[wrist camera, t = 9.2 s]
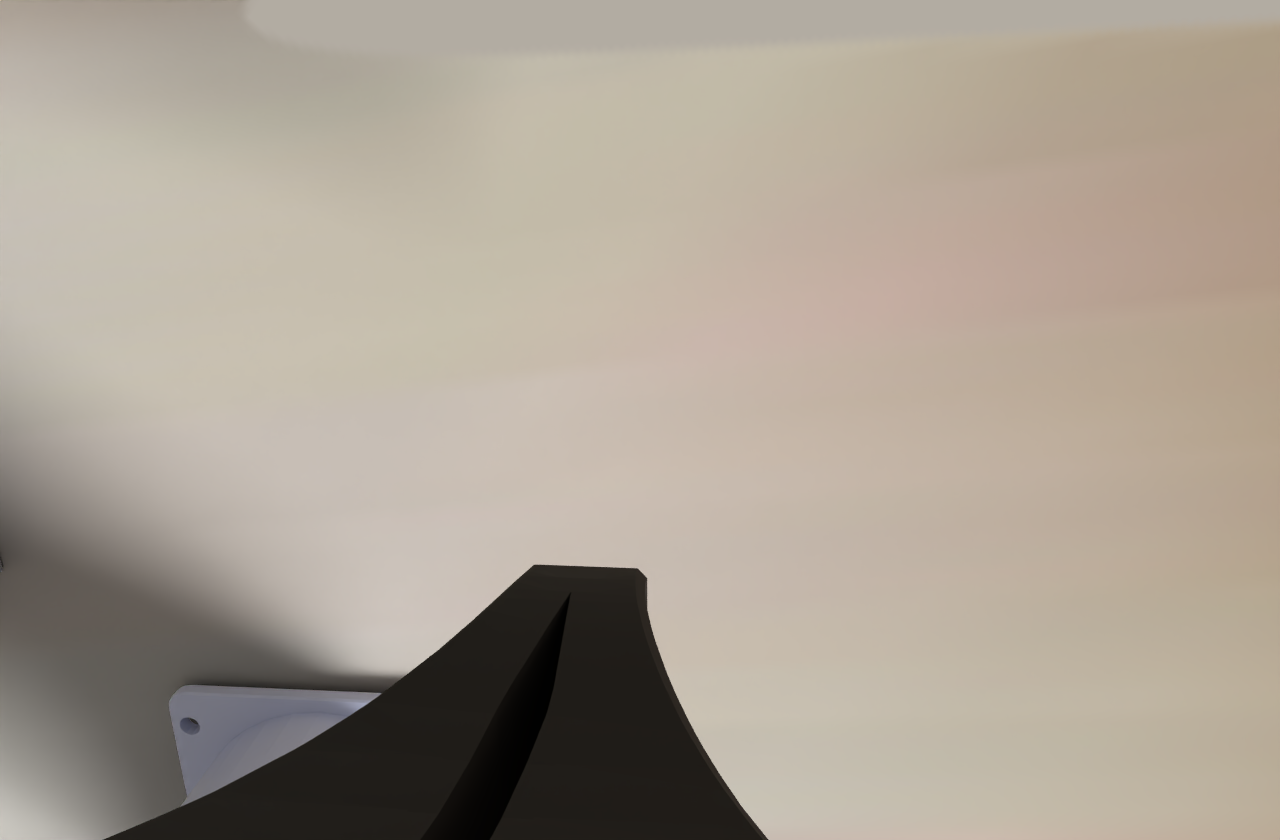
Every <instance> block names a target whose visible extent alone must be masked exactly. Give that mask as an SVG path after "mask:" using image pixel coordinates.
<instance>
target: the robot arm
mask: <svg viewBox="0 0 1280 840" xmlns="http://www.w3.org/2000/svg"><path fill="white" fill-rule="evenodd" d="M169 711H170V716H171V721H172V726H173V731H174V736H175V741H176V746H177V750H178V755H179V760H180V765H181V770H182V775H183V780H184V784H185V789H186V794H187V798H186V799H185V801H184V802H183V803H182V805H181V806H180V807H179V808H177V809H175V810H173V811H170V812H168V813H166V814H164V815H161V816H159V817H157V818H154V819H152V820H150V821H147V822H145V823H142V824H140V825H138V826H135V827H133V828H130V829H128V830H126V831H123V832H121V833H118V834H116V835H113V836H111V837H109V838H106V839H104V840H768V839H767V838H766V836H765V835H764V834H763V833H762V831H761V830H760V829H759V828H758V826H757V825H756V824H755V823H754V821H753V820H752V819H751V818H750V816H749V815H748V814H747V813H746V812H745V810H744V809H743V808H742V806H741V805H740V804H739V802H738V801H737V799H736V798H735V796H734V795H733V793H732V792H731V790H730V789H729V787H728V786H727V784H726V783H725V782H724V780H723V779H722V777H721V776H720V774H719V773H718V771H717V769H716V768H715V766H714V764H713V763H712V761H711V760H710V758H709V756H708V755H707V753H706V751H705V750H704V748H703V746H702V745H701V743H700V741H699V739H698V737H697V736H696V734H695V732H694V730H693V728H692V726H691V724H690V722H689V721H688V719H687V717H686V715H685V712H684V710H683V708H682V706H681V704H680V702H679V700H678V698H677V696H676V694H675V691H674V689H673V687H672V684H671V682H670V680H669V677H668V675H667V672H666V670H665V667H664V664H663V661H662V659H661V656H660V653H659V650H658V647H657V645H656V642H655V639H654V635H653V632H652V628H651V624H650V620H649V616H648V611H647V578H646V577H645V576H644V574H643V573H642V572H641V571H640V570H639V569H637V568H611V567H584V566H558V565H533V566H532V567H531V568H530V569H529V570H528V571H526V572H525V573H524V574H523V575H522V576H521V577H520V578H519V579H517V580H516V581H515V582H514V583H513V584H512V585H511V586H510V587H509V588H507V589H506V590H505V591H504V592H503V593H502V594H501V595H500V596H499V597H498V598H497V599H496V600H494V601H493V602H492V603H491V604H490V605H489V606H488V607H487V608H486V609H485V610H484V611H482V612H481V613H480V614H479V615H478V616H477V617H476V618H475V619H474V620H473V621H471V622H470V623H469V624H468V625H467V626H466V627H465V628H463V629H462V630H461V631H460V632H459V633H458V634H456V635H455V636H454V637H453V638H452V639H451V640H450V641H448V642H447V643H446V644H445V645H444V646H443V647H441V648H440V649H439V650H438V651H437V652H435V653H434V654H433V655H431V656H430V657H429V658H428V659H426V660H425V661H424V662H422V663H421V664H420V665H419V666H417V667H416V668H415V669H413V670H412V671H411V672H409V673H408V674H407V675H406V676H404V677H403V678H402V679H400V680H399V681H398V682H397V683H395V684H394V685H393V686H391V687H390V688H389V689H388V690H386V691H385V692H383V693H368V692H345V691H322V690H299V689H275V688H252V687H229V686H206V685H186V686H182V687H181V688H179V689H178V690H177V691H176V692H175V693H174V694H173V696H172V697H171V699H170V700H169ZM189 718H192V719H194V720H196V721H197V722H198V724H199V725H198V724H194V723H193V722H192V721H190V719H189Z"/></svg>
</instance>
